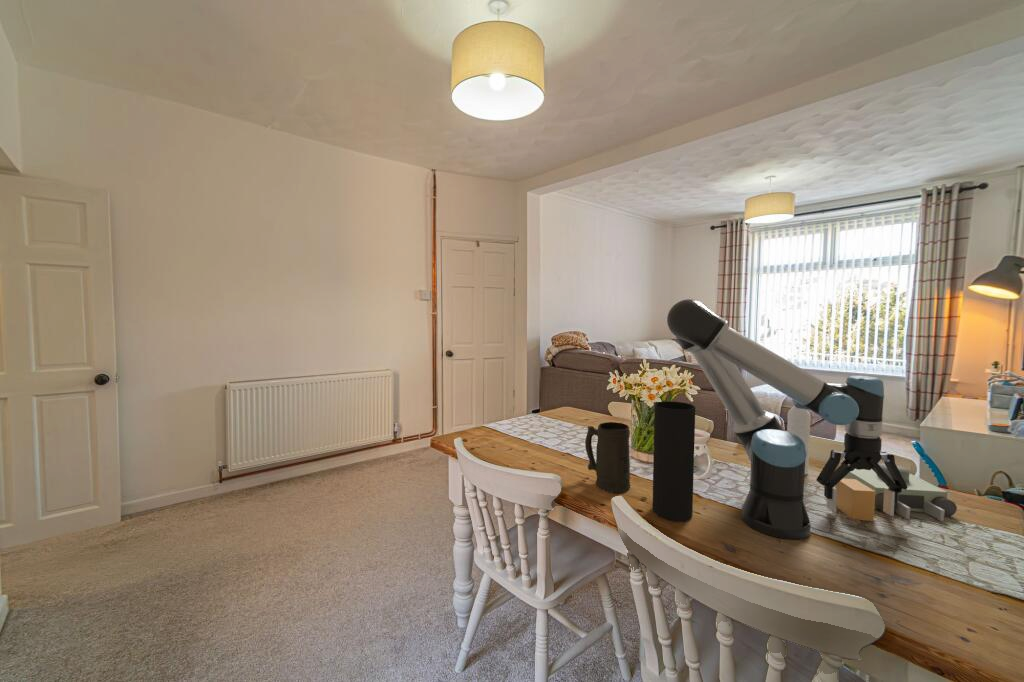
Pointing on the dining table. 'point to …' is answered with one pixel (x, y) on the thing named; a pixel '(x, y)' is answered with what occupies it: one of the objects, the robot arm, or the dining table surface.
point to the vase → (673, 460)
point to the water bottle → (800, 428)
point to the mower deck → (908, 493)
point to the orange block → (855, 499)
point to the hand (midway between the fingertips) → (859, 511)
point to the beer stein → (610, 456)
